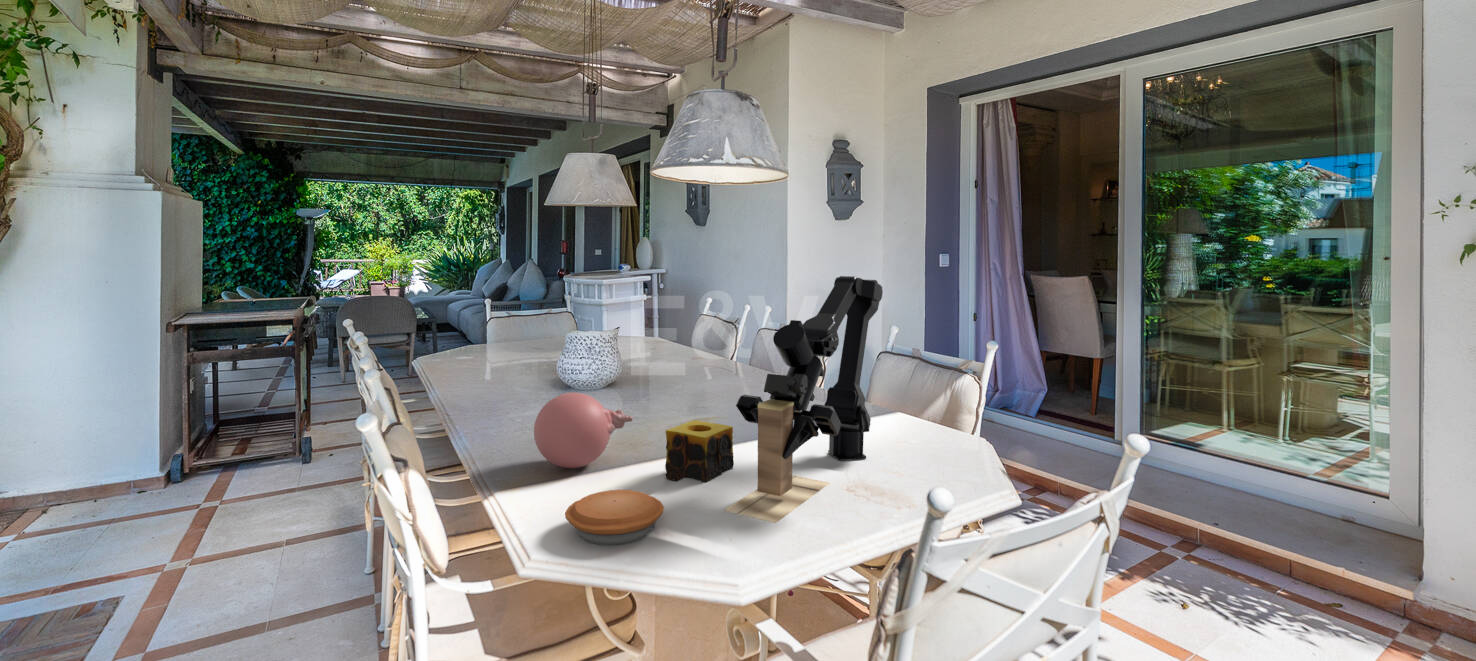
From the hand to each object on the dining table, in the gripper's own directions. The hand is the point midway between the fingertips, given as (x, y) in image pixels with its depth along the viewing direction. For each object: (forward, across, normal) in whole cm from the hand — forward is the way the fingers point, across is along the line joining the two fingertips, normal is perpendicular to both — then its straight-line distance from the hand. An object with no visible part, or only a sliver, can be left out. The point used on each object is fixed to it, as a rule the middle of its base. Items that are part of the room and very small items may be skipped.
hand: (771, 455), depth 116 cm
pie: (+22, -17, -8) cm, 29 cm away
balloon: (+7, -44, +7) cm, 45 cm away
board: (+4, 0, +9) cm, 10 cm away
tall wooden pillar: (+4, 0, +6) cm, 7 cm away
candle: (+2, -20, +12) cm, 23 cm away
